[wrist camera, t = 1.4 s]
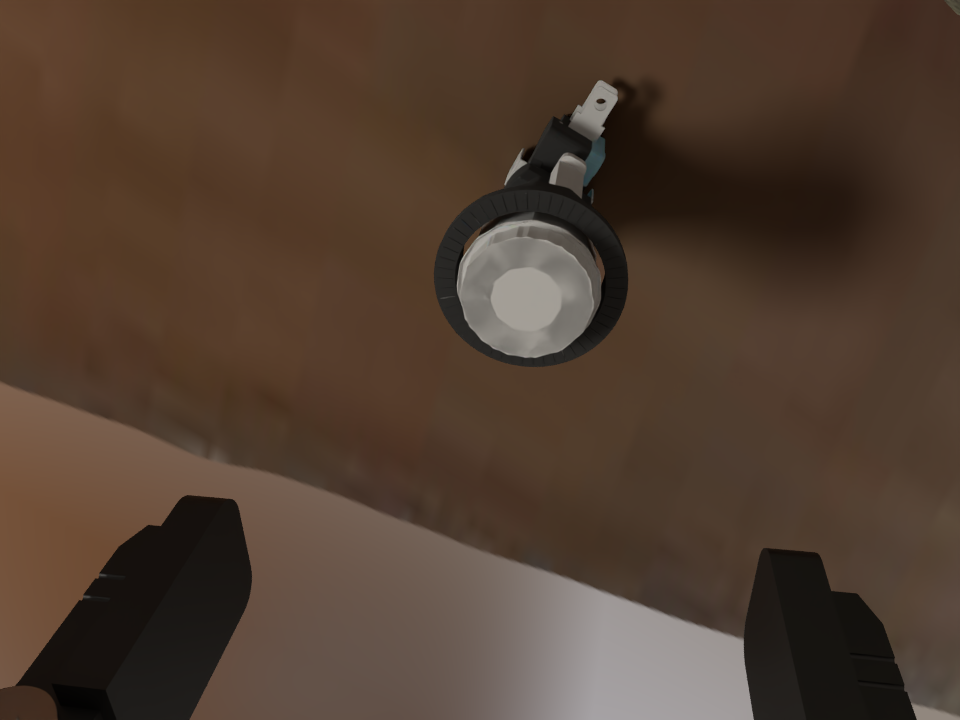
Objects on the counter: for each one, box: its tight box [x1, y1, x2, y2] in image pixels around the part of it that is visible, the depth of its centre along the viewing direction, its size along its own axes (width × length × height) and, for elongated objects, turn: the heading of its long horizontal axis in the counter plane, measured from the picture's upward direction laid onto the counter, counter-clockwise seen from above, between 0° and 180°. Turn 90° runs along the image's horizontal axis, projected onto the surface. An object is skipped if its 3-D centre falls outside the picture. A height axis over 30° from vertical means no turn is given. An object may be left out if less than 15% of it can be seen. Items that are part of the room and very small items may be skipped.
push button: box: [434, 80, 628, 367], centre depth 26 cm, size 7×5×10 cm
